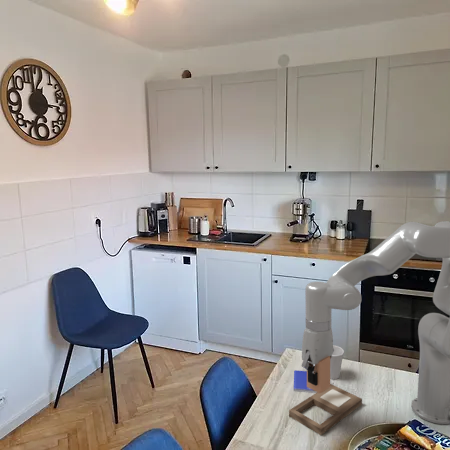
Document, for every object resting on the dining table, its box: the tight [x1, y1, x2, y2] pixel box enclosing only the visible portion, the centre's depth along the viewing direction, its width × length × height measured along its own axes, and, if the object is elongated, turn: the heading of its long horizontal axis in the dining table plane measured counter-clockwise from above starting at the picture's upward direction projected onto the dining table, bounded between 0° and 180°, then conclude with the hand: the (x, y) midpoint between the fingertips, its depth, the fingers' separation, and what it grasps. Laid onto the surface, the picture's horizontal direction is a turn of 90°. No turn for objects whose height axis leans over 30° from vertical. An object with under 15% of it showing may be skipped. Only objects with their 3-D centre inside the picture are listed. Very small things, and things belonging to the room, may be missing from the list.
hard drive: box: [293, 370, 317, 394], centre depth 142 cm, size 2×8×12 cm
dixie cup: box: [330, 344, 345, 380], centre depth 145 cm, size 8×8×10 cm
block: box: [306, 356, 331, 394], centre depth 120 cm, size 5×5×10 cm
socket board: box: [288, 383, 363, 436], centre depth 126 cm, size 12×22×2 cm, turn 131°
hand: (318, 379), depth 121 cm, fingers closed on block, 5 cm apart
